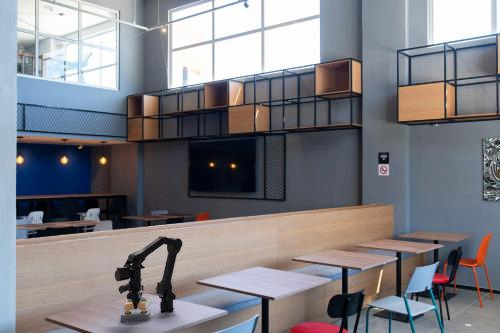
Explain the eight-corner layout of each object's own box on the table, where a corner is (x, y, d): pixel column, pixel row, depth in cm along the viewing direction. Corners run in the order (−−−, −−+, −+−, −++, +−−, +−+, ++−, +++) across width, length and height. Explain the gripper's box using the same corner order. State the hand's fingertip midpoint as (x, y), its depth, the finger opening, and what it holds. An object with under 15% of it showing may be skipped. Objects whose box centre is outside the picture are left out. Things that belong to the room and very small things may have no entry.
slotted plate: (150, 315, 251) (150, 309, 251) (148, 320, 243) (148, 314, 243) (123, 316, 249) (123, 310, 249) (120, 321, 241) (120, 315, 241)
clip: (146, 314, 248) (145, 301, 248) (145, 315, 245) (145, 303, 245) (126, 315, 247) (126, 302, 247) (125, 316, 244) (125, 303, 244)
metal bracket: (123, 298, 264) (132, 291, 279) (120, 308, 264) (129, 301, 279) (147, 306, 263) (155, 299, 278) (145, 316, 263) (152, 308, 278)
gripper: (122, 274, 255) (123, 304, 255) (115, 282, 236) (116, 314, 236) (144, 274, 256) (144, 303, 256) (138, 282, 237) (139, 313, 237)
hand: (135, 308), depth 246 cm, fingers closed on clip, 2 cm apart
